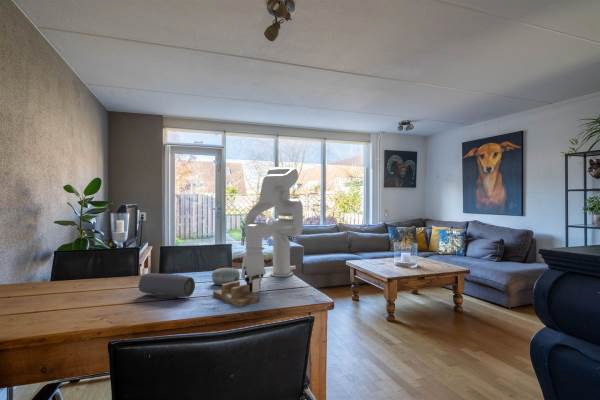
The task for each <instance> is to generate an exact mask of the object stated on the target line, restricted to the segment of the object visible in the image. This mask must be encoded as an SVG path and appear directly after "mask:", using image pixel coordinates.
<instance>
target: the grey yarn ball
mask: <svg viewBox="0 0 600 400" xmlns="http://www.w3.org/2000/svg"><path fill="white" fill-rule="evenodd" d="M240 278H241V275H240V272H239V269H237V268H235V267H219V268H216V269H215V270H213V271H212V273H211V279H212V280H211V281H212V283H213V284H214V285H216V286H222V284H225V283H230V282H234V281H239V282H240Z"/></svg>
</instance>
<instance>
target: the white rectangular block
mask: <svg viewBox="0 0 600 400" xmlns="http://www.w3.org/2000/svg"><path fill="white" fill-rule="evenodd" d="M251 283H252V292H250V293H251V294H254V293H257V292H260V291H261V281H260V277H258V276H252V280H251Z"/></svg>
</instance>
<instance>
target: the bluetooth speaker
mask: <svg viewBox="0 0 600 400" xmlns="http://www.w3.org/2000/svg"><path fill="white" fill-rule="evenodd" d="M195 288H196V283H195V280H194V277H191V276H187V275H179V274H173V273H172V274H170V273H158V272H157V273H153V272H152V273H144V274H142V276H141V277H140V279H139V281H138V289H139V291H140V292H141V293H145V294H148V295H155V298H160V299H170V300H171V299H172V300H175V299H177V298H189V297H190V296H192V295H193V294H194V291H195Z"/></svg>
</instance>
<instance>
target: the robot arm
mask: <svg viewBox="0 0 600 400" xmlns="http://www.w3.org/2000/svg"><path fill="white" fill-rule="evenodd" d="M298 178H299V172H298V170H297V169H296V168H295V167H273V168H270V169H268V171H267V172H266V175H265V176H264V177H263V179H262V183H261V186H260V187H261V188H260V193H259V197H258V201H257V202H256V203H255V204H254V205H253V207H252V208H251V209H250V210H249V211H248V213H247V215H246V217H245V221H244V222H245V223H244V228H243V232H244V234H245V254H243V256H242V257H243V258H242V266H241V275H240V278H241V279H242V280H244V282H245V283H246V284H248V285H250V293H251V292H252V283H251V280H252V276H258V277H260V282H262V280H263V278H264V276H265V275H266V273H267V271H266V269H265V260H264V259H265V258H264V257H265V256H264V253H263V250H264V247H263V239H269V238H271V237H272V241H273V242H272V246H273V247H272V262H273V263H272V266H273V267H272V271H270V273H269V274H270V276H272V277H277V278H286V277H291V276H293V271H292V270H295V269H297V266H296V265H291V242H290V240H289V238H288V237H300V236H301V235H302V233H303V228H304V227H303V226H304V222H303V220H304V219H303V217H304V216H303V215H304V214H303V213H304V208H303V207H304V206H303V203H302V201H301V200H300V199H295V198H293V199H291V188H292V187H294V185H296V183H297V182H298V180H299V179H298ZM272 208H274V213H275V215H276V216H280V217H292V218H275V219H273V220H272V222H271V223H269V222H256V219H257V217H258V216H259V215H260V214H262V213H264V212H265V211H267V210H270V209H272Z"/></svg>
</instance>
